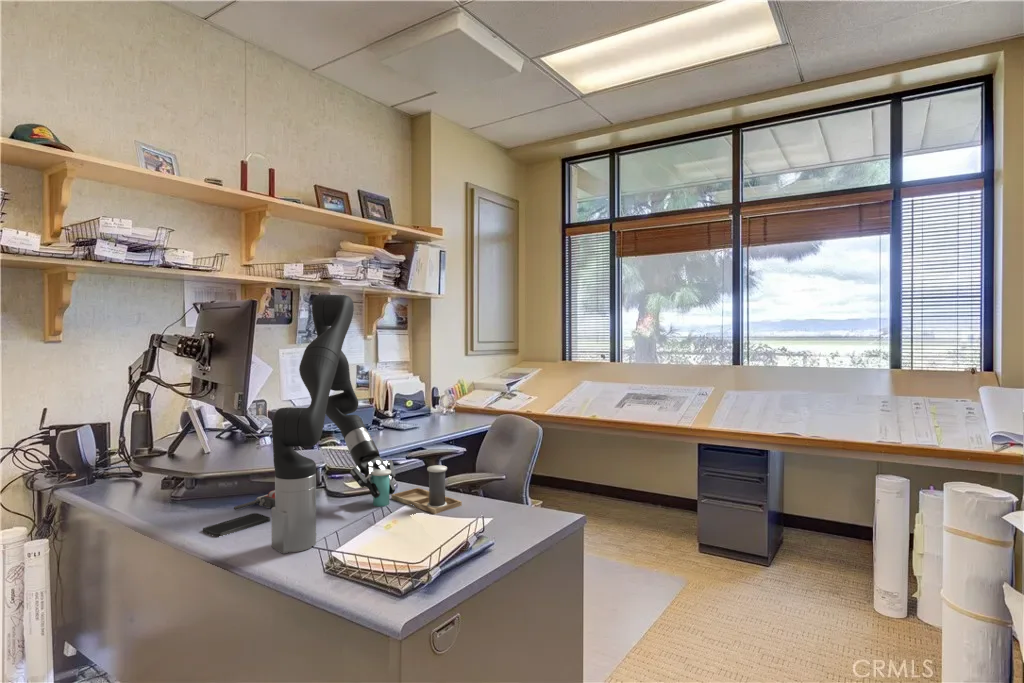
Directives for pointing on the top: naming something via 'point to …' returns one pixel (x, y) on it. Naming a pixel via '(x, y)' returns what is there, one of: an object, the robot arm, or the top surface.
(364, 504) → the top surface
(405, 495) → the tray
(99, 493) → the top surface
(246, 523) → the phone
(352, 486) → the top surface
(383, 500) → the teal spool
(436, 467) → the black spool
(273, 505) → the red grey long piece
